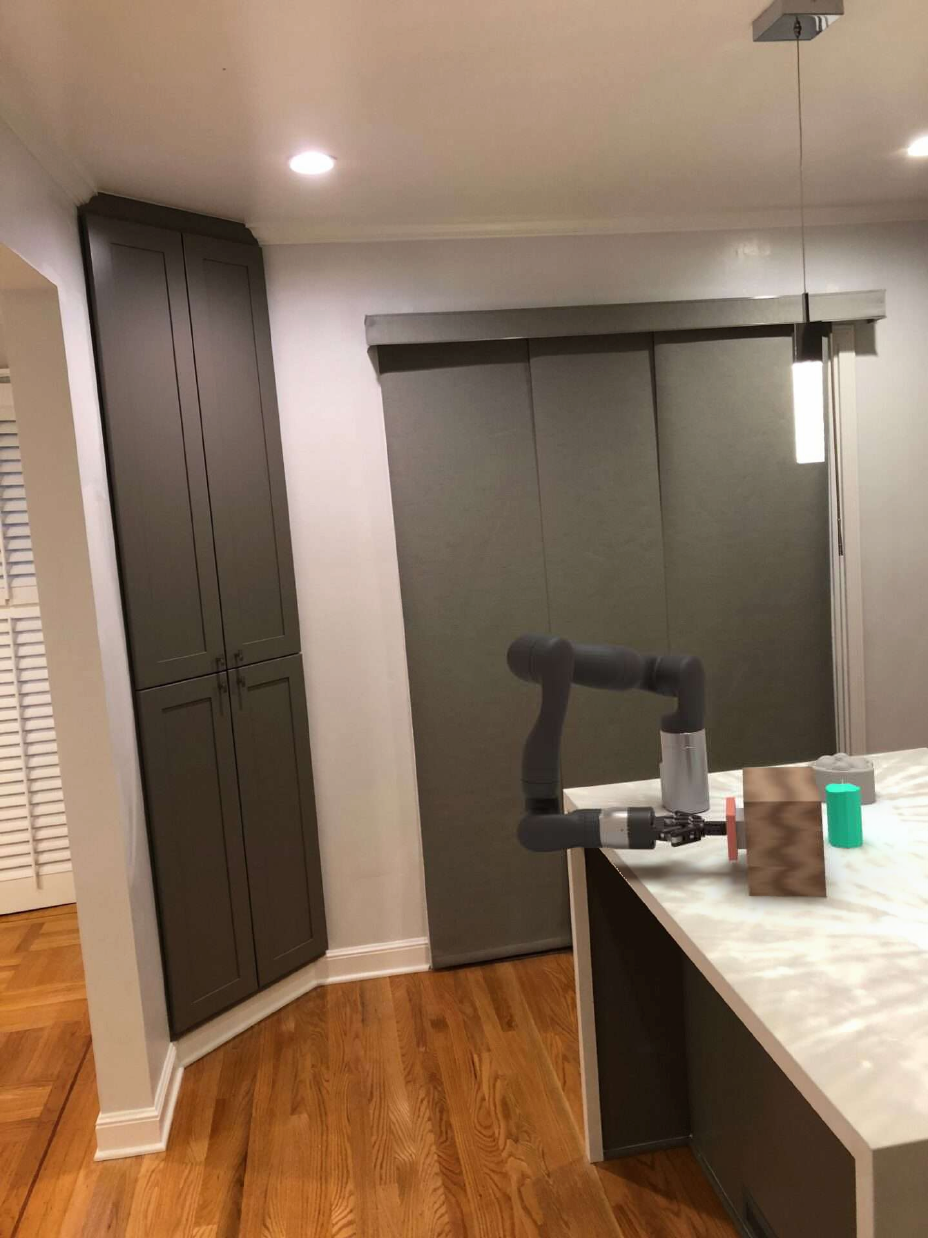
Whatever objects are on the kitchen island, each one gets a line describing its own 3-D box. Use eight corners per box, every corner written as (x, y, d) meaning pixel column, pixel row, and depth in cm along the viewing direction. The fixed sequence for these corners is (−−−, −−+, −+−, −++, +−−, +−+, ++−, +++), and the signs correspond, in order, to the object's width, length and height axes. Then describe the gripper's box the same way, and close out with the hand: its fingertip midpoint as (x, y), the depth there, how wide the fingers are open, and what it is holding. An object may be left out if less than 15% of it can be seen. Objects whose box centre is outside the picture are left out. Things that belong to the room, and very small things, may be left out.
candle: (866, 847, 174) (863, 783, 173) (831, 848, 176) (827, 784, 174) (859, 836, 180) (856, 774, 179) (825, 837, 182) (822, 775, 180)
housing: (749, 895, 159) (743, 801, 157) (747, 851, 178) (742, 767, 176) (826, 897, 156) (821, 801, 154) (816, 852, 175) (811, 766, 173)
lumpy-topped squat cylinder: (876, 806, 196) (874, 764, 195) (808, 804, 201) (806, 764, 200) (874, 790, 206) (872, 751, 205) (809, 789, 210) (807, 751, 210)
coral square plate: (728, 860, 164) (725, 815, 163) (729, 840, 174) (726, 797, 173) (787, 861, 161) (784, 815, 161) (784, 840, 171) (781, 796, 170)
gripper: (622, 820, 167) (725, 820, 162) (630, 796, 179) (726, 796, 174) (625, 862, 167) (728, 863, 162) (633, 835, 180) (729, 836, 175)
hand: (727, 828), depth 168 cm, fingers closed
